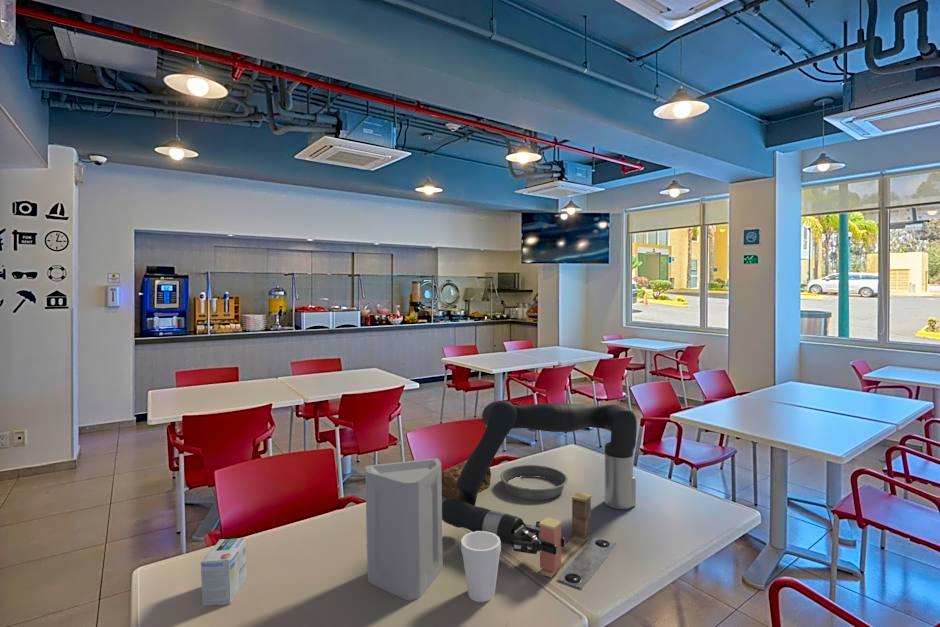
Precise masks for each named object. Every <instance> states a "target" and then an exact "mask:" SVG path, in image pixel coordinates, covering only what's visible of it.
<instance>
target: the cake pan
mask: <svg viewBox="0 0 940 627" xmlns="http://www.w3.org/2000/svg"><path fill="white" fill-rule="evenodd" d="M520 476H540V477H539V478H541V477H545V478H544V479H546V478H548V479H547V480H550V479H551V481H553V480H554V481H553V482H555V481H556V484H558V483H559V485H556V486H553V487H549V488H546V487H545V488H546V489H529V488H522V487H518V486H514V485H512V484H509V483H508V481H509V480H511V479H513V478H515V477H520ZM499 477H500V480H501V482H503V486H504V489H506V490H505V491H506V492H507V493H508V494H510V495H511V494H512V496H514V497H516V496H517V497H516V498H519V497H520V499H525V500H535V501H537V500H540V501H541V499H542V500H548V499H553V498H556V497H558V496H559V495H561V494H562V493H563V491H564V488H565V485H567V483H568V480H569V479H568V476H567V475H566V474H565V473H564V472H563V471H562V470H560V469H556V468H553V467H550V466H546V465H538V464H522V465H515V466H512V467H508V468H506V469H504V470H503V471H502V472H501V473H500V476H499Z"/></svg>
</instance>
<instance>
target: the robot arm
mask: <svg viewBox="0 0 940 627" xmlns="http://www.w3.org/2000/svg"><path fill="white" fill-rule="evenodd" d="M481 417H482V421H483V423H484V425H485V426H486V428H485V430H484V432H483V435H482V437H481V439H480V440H479V442H478V443H477V446H476V447H475V448H474V450H473V451H472V452H471V453H470V456H469V457H468V458H467V459H466V460H467V462H466V463H465V465H464V467H463V470H462V472H461V474H460V476H459V478H458V480H457V483H456V487H457V489H458V490H459V494H458V498H457V499H455V498H445V499H444V500H442V522H444V523H446V524H448V525H451V526H453V527H455V528H460V529H461V528H463V529H465V530H468V531H470V532H475V531H487V532H491V533H494V534H495V535H497V536H498V537H499V538H500V541H501V544H504V545H506V546H509V547H512V548H513V551H514V552H517V553H523V554H532V555H537V554H538V552H539V553H540V552H542V551H545V552H548V553H551V554H554V555H556V554H557V545H554V544H551V543H548V542H545V541H544V542H543V541H542V540H540V526H539V523H540V522H541V521H536V522H535V525H532V524H526V523H525V522H524V521H523V518H522V517H518V516H515V515H512V514H509V513H505V512H501V511H497V510H492V509H489V508H485V507H481V506H477V505H476V502H477V498H478V494H479V492H478V491H479V489H480V487H481V484H482V482H483V480H484V478H485V475H486V473H487V471H488V469H489V467H490V468H491V464H492V462H493V460H494V458H495V456H496V455H497V452H498V451H499V449H500V448H501V445H502V444H503V442H504V440H505V439H506V437H507V436H508V434H509V433H510V431H511V430H513V429H528V430H534V431H541V432H551V433H552V432H553V433H570V432H576V431H579V430H581V429H586V428H595V429H603V430H607V431H609V432H610V441H609V442H606V443H605V444H604V504H605V505H606V506H607V507H609V508H612V509H615V510H629V509H632V507H636V494H637V493H636V491H637V490H636V486H637V484H636V483H637V482H636V477H635V476H634V450H635V448H636V444H637V431H638V430H637V429H638V427H637V425H638V423H637V422H638V421H637V416H636V415H635V413H634V412H633V411H632V410H631V409H628V408H626V407H623V406H621V405H618V404H614V403H613V404H611V403H610V404H601V405H599V404H598V405H582V404H573V403H563V402H562V403H561V402H560V403H559V402H557V403H556V402H555V403H554V402H552V403H551V402H550V403H549V402H548V403H537V404H536V403H535V404H526V405H525V404H524V405H523V404H522V405H519V404H513V403H512V402H510V401H508V400H495V401H492V402H490V403H488V404H487V405H486V406H485V407H484V409H483V411H482V413H481ZM565 545H566V538H565V537H564V536H561V548H563V547H564V546H565Z"/></svg>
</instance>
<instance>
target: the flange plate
mask: <svg viewBox="0 0 940 627" xmlns="http://www.w3.org/2000/svg"><path fill="white" fill-rule="evenodd" d="M616 546H617V543H616V542H612V541H609V540H606V539H603V538H600V537H599V538H598V537H593V538H592V539H591V541H590V542H589V543H588V544H587V545H586V546H585V548H583V549H582V551H581V552H580V553H579V554H578V555H577V556H576V558H574V559H573V560H572V561H571V563H570V564H569V565H568V566H567V567H566V568H564V571H563V572H562V573H561V574H560V575H559V576H558V577H557V579H556V580H559V581H558V582H560V581H562V582H561V583H563V582H565V583H564V584H566V583H568V584H571V585H574V586H577V587H579V588H582V587H583V586H584V585H586V584H587V583H588V582H589V580H591V578H592V577H591V576H593V575H594V574H595V573H596V572H595V571H597V570H599V568H600V567H601V565H602V564H603V563H604V561H605V560H606V559H607V558H608V556H609V555H610V554H611V552H612V551H613V550H614V549H615V548H616ZM599 566H600V567H599ZM590 577H591V578H590ZM587 581H588V582H587ZM586 582H587V583H586ZM585 583H586V584H585ZM568 584H567V585H568ZM571 585H570V586H571ZM574 586H573V587H574ZM577 587H576V588H577ZM584 587H585V586H584ZM584 587H583V588H584ZM579 588H578V589H579ZM583 588H582V589H583Z"/></svg>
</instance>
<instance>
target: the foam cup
mask: <svg viewBox="0 0 940 627" xmlns="http://www.w3.org/2000/svg"><path fill="white" fill-rule="evenodd" d="M501 545H502V543H501V541H500V538H499V537H498V536H497V535H495V534H494V533H491V532H487V531H475V532H472V531H470V532H468V533H466V534H464V535H463V537H462V538H461V539H460V551H461V554H462V560H463V566H464V568H463V569H464V573H465V580H466V581H465V582H466V589H467V594H468V597H469V598H470V600H472V601H475V602H477V603H485V602H489V601H491V600H492V599H494V597H495V595H496V586H497V577H498V571H499V562H500V561H499V560H500V554H501V551H502V546H501Z"/></svg>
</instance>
